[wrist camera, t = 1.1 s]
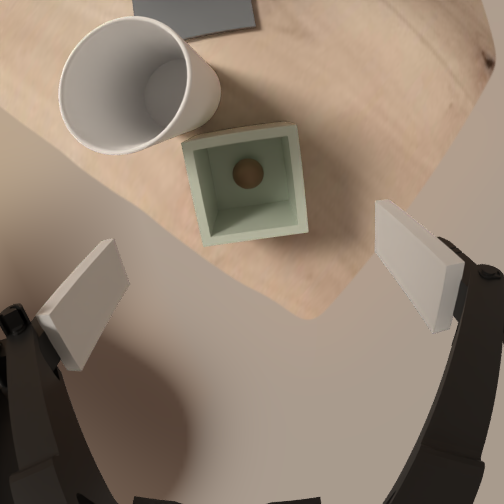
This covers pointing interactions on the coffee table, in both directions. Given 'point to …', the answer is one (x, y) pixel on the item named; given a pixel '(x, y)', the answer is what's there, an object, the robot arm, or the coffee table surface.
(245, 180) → the walnut ball
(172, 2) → the coaster
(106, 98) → the cup
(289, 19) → the coffee table surface
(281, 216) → the planter
